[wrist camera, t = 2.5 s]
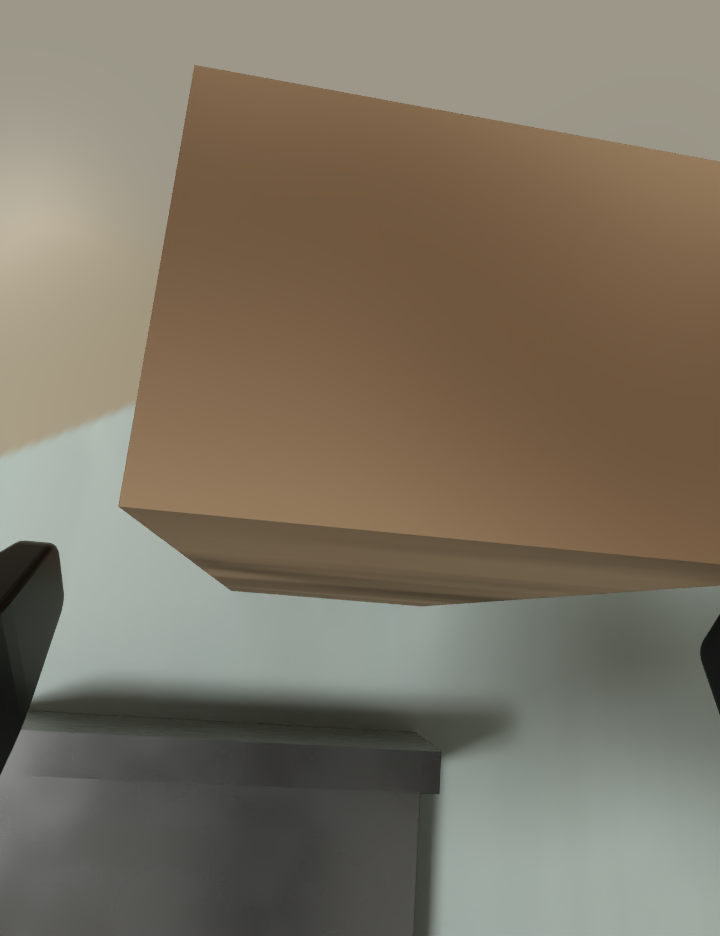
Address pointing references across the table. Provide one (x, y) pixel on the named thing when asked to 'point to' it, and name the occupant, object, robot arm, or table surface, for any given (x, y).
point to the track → (209, 828)
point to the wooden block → (429, 355)
